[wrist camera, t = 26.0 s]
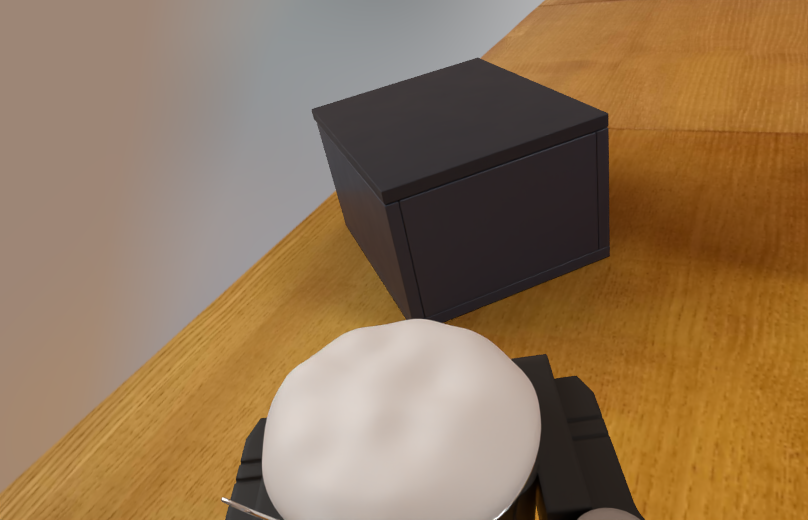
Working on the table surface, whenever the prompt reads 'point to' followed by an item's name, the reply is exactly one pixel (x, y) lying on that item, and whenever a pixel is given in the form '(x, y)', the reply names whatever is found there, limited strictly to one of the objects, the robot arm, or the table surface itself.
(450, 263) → the case
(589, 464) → the robot arm
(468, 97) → the case lid
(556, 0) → the table surface
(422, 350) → the milkshake
